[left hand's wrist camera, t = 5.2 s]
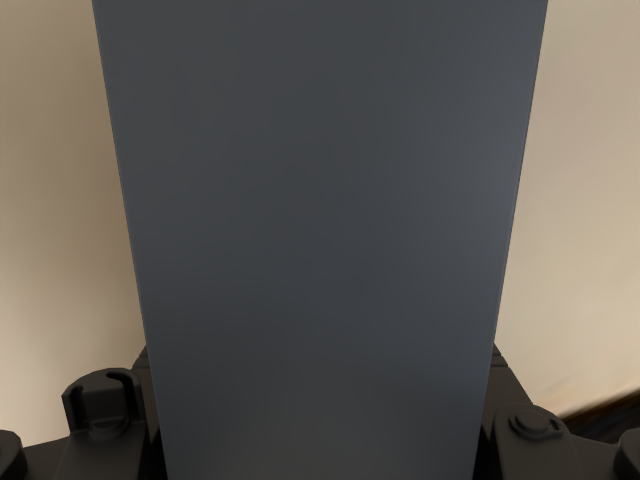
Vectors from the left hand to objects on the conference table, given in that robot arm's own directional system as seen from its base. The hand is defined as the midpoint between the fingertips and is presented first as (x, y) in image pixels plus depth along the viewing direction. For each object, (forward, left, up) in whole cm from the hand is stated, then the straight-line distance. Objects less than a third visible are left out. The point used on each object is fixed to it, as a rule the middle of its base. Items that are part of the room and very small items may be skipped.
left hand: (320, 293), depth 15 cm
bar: (+26, +6, -1) cm, 26 cm away
